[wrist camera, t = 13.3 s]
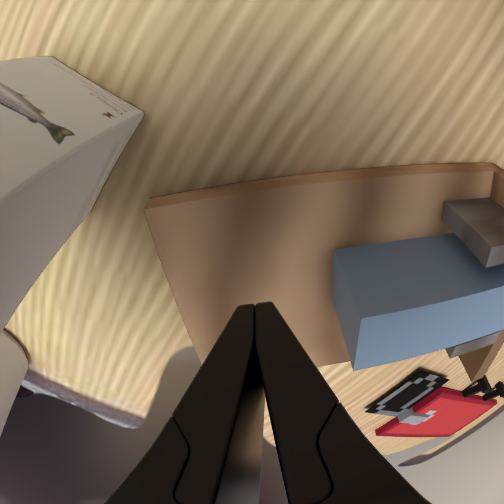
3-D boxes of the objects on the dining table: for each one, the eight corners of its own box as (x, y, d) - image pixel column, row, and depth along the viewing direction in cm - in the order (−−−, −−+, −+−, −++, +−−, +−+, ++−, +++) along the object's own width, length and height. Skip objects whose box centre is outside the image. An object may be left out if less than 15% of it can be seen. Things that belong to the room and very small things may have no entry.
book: (483, 228, 17) (530, 277, 12) (470, 275, 19) (508, 327, 15) (333, 249, 18) (361, 318, 13) (332, 301, 20) (353, 370, 15)
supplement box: (150, 111, 15) (-23, 236, 4) (91, 214, 18) (-22, 383, 7) (51, 50, 12) (-146, 99, 1) (8, 156, 15) (-134, 271, 4)
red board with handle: (432, 353, 27) (335, 422, 34) (441, 375, 24) (339, 442, 31) (510, 383, 36) (447, 430, 43) (516, 396, 34) (451, 442, 41)
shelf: (492, 162, 16) (556, 206, 10) (452, 323, 24) (482, 377, 19) (150, 198, 17) (111, 265, 12) (209, 363, 25) (204, 432, 20)
